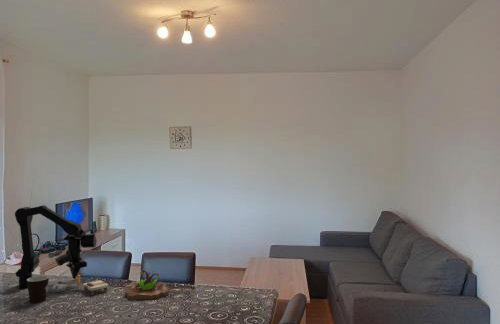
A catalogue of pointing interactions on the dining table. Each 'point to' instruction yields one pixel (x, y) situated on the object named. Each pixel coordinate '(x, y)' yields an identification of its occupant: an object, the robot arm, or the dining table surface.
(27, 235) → the robot arm
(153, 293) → the plant
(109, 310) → the dining table surface
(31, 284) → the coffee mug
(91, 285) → the level stand
